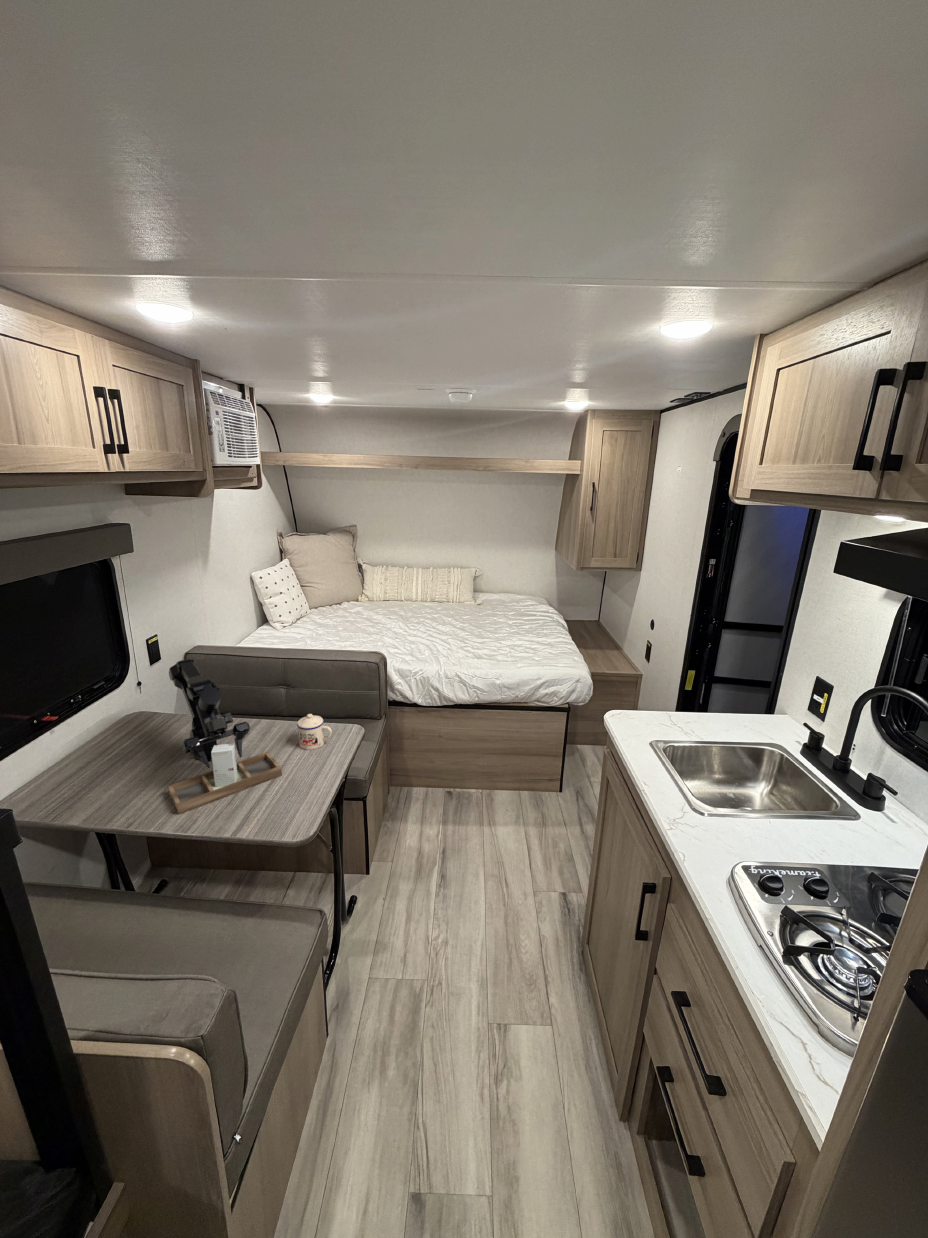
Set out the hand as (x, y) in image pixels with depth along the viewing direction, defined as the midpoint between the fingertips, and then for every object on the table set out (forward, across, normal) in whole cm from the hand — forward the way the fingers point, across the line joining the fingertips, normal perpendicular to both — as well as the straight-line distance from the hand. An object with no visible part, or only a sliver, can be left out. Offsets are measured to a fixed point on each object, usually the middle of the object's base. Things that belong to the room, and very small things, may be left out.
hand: (225, 762), depth 154 cm
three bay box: (+5, 0, +7) cm, 9 cm away
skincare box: (+4, 0, +7) cm, 8 cm away
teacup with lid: (+2, +32, +11) cm, 34 cm away
